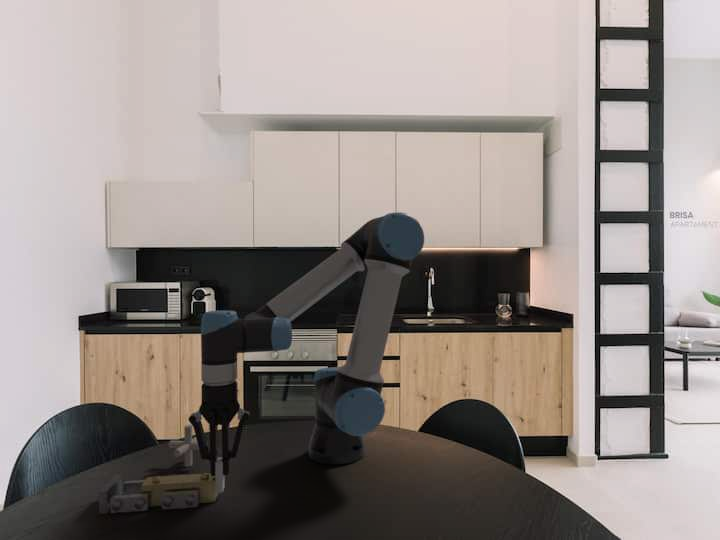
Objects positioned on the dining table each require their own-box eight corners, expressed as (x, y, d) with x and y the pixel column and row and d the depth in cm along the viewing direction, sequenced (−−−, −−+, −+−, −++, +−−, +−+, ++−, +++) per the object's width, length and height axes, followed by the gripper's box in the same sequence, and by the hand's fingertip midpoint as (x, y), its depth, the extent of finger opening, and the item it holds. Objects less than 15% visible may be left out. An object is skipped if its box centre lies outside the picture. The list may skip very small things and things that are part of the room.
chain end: (205, 488, 104) (205, 474, 104) (196, 508, 95) (196, 494, 95) (173, 490, 103) (173, 476, 103) (161, 511, 94) (160, 496, 94)
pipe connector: (195, 475, 110) (195, 434, 110) (158, 472, 112) (158, 431, 112) (216, 458, 120) (216, 420, 120) (182, 456, 122) (182, 418, 122)
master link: (218, 493, 101) (218, 470, 102) (215, 501, 98) (214, 478, 98) (147, 497, 100) (147, 474, 100) (141, 507, 96) (141, 482, 96)
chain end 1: (159, 491, 103) (159, 471, 103) (145, 512, 93) (145, 490, 94) (116, 494, 101) (116, 473, 101) (97, 515, 92) (97, 493, 92)
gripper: (251, 376, 104) (252, 480, 104) (192, 378, 103) (193, 483, 103) (247, 384, 97) (248, 496, 97) (184, 386, 95) (184, 500, 95)
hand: (220, 489), depth 100 cm, fingers closed
